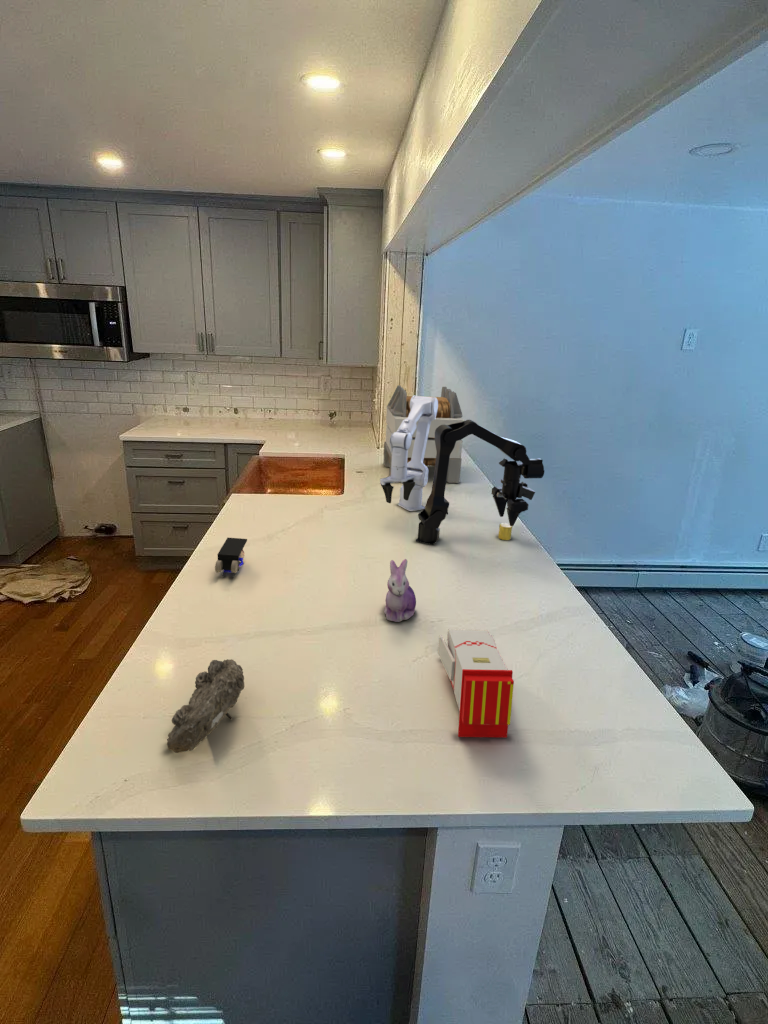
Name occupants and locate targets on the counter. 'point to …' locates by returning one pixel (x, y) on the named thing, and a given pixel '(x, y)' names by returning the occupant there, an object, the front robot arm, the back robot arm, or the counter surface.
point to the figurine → (399, 594)
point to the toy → (478, 682)
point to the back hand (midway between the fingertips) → (397, 501)
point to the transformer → (445, 416)
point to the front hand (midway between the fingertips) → (506, 521)
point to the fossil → (206, 705)
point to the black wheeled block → (230, 556)
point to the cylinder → (505, 531)
